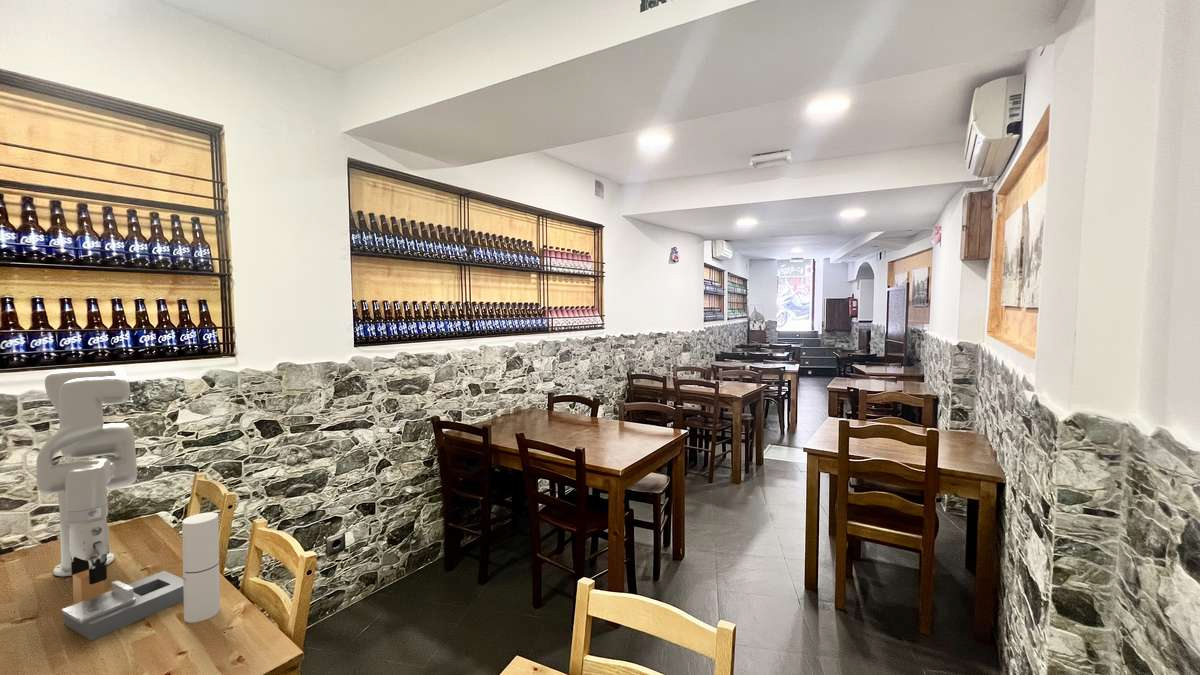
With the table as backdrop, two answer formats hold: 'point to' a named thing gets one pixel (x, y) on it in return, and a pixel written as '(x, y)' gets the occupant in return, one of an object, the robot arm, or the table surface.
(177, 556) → the table surface
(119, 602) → the panel
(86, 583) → the plug peg
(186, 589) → the cylindrical container
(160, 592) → the socket block
